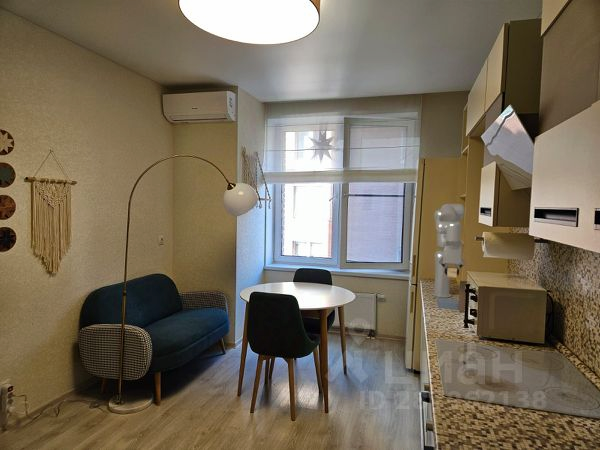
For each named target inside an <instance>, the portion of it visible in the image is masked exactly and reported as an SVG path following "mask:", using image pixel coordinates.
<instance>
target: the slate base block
mask: <svg viewBox="0 0 600 450" xmlns="http://www.w3.org/2000/svg"><path fill="white" fill-rule="evenodd" d="M436 304H437V305H436V306H437V309H442V308H443V310H444V309H445V310H455V311H459V299H457V298H449V297H447V298H444V297H437V298H436Z"/></svg>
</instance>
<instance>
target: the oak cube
mask: <svg viewBox="0 0 600 450" xmlns="http://www.w3.org/2000/svg"><path fill="white" fill-rule="evenodd" d="M447 277H450V278H458V276H457V266H456V267H455V266H447Z"/></svg>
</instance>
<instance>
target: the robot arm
mask: <svg viewBox="0 0 600 450" xmlns="http://www.w3.org/2000/svg"><path fill="white" fill-rule="evenodd" d="M465 211H466V210H465V206H464V205H463V204H461V203H445V204H442V205H441V207H440V209H436V210H435V211H434V214H433V217H434V218H433V219H434V222H435V229H436V232H437V233H436V246H437V247H438V248H439V250H437V251H435V252H434V266H435V267H434V270H435V271H434V291H433V292H431V296H434V297H437V298H451V297H452V294H451V293H450V278H451V277H447V267H448V265H453V266H455V265H456V268H457V277H459V275H460V269H462V268H463V267H464V266H465V265H467V263H466V262H465V261H466V260H464V259H463V245H464V242H463V240H462V237H461V232H463V224H461V223H462V222H461V221H462V220H463V218H464V216H465ZM440 249H441V250H440Z"/></svg>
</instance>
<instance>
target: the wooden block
mask: <svg viewBox="0 0 600 450" xmlns="http://www.w3.org/2000/svg"><path fill="white" fill-rule="evenodd" d="M467 281H468V280H460V281H459V291H458V293H459V295H458V297H459V298H458V302H459V310H458V311H459V313H464V310H465V284H466V283H467Z"/></svg>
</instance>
